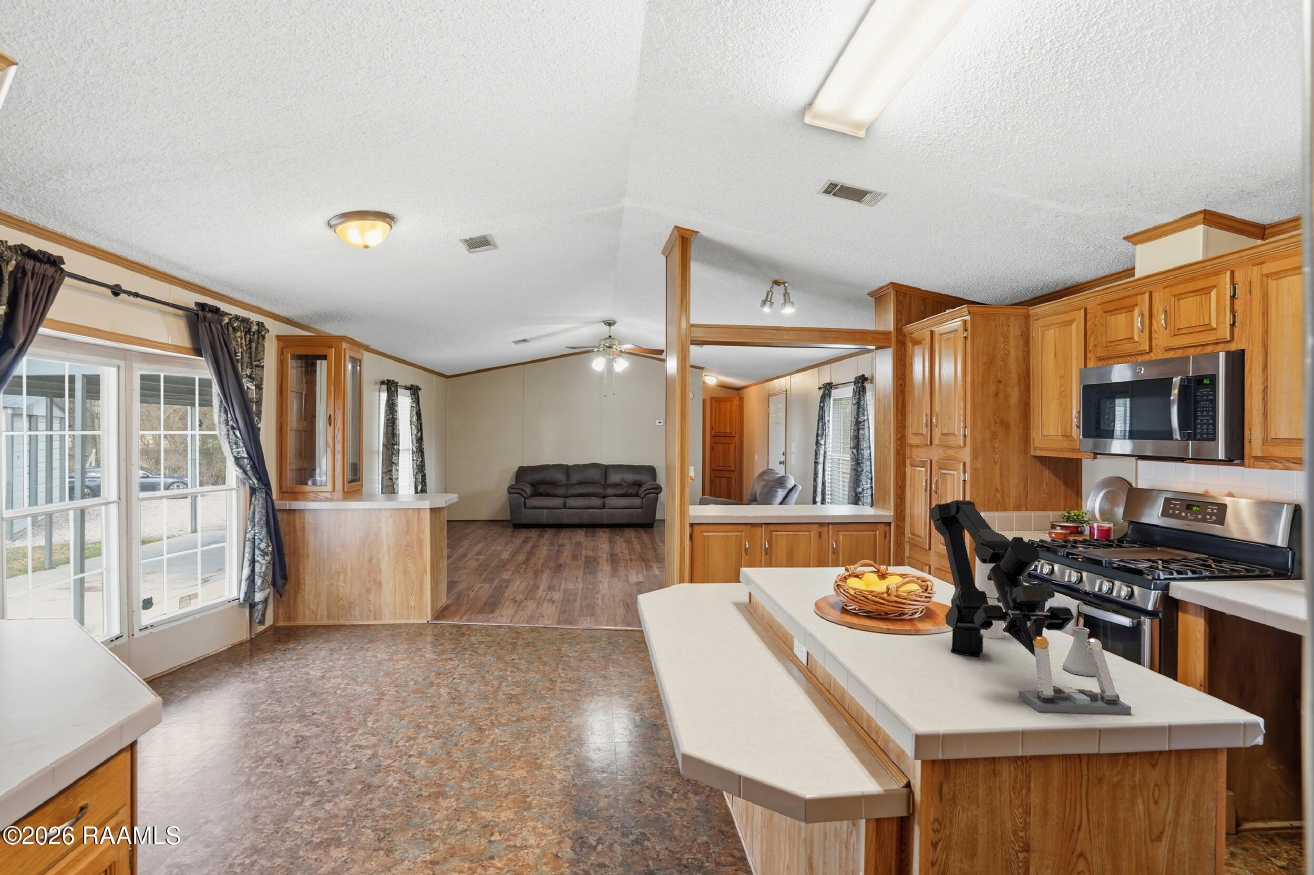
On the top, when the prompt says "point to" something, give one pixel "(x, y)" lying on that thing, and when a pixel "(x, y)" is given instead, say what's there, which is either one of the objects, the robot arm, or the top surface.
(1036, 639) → the orange knob lever
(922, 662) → the top surface
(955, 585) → the robot arm
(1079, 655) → the flask
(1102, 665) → the lever
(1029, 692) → the panel
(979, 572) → the cylindrical container
